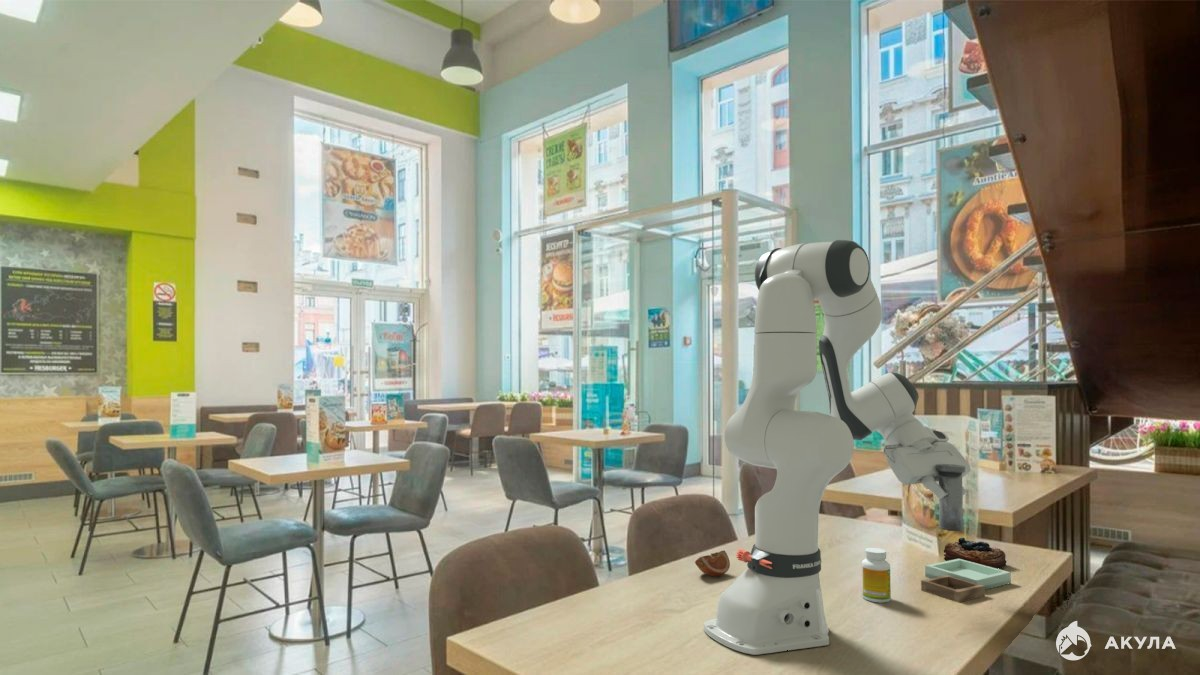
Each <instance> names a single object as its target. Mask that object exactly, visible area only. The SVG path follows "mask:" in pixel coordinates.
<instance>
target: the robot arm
mask: <svg viewBox="0 0 1200 675" xmlns="http://www.w3.org/2000/svg"><path fill="white" fill-rule="evenodd" d="M868 256H869V255H868V254H867V252H866V250H865V249H864V247H862V246H861V245H860V244H859V243H857V242H855V241H853V240H848V239H847V240H845V239H836V240H833V241H821V242H820V241H819V242H803V243H798V244H797V243H796V244H794V245H788V246H786V247H782V248H781V247H777V248H774V249H771V250H768V251H766V252H765V253H763V254H761V256H760V258H759V259H758V261H757V263H756V266H755V267H754V268H755V269H754V280H755V284H756V288H757V289H758V294H757V299H756V304H755V305H756V307H755V314H754V335H753V336H754V340H753V341H754V344H753V345H754V346H753V347H754V349H753V350H754V351H753V355H754V356H753V373H752V378H751V379H752V380H751V382H750V387H749V390H748V392H747V395H746V397H745V399H744V401H743V403H742V404H741V405H740V408H739V409H738V410H737V411H736V412H735V413H734V414H731V416H730V418H729V419H728V420H727V423H726V426H725V429H724V441H725V447H726V449H727V451H728V453H730V455H732V457H735V458H736V459H738V460H740V461H742V462H745V463H747V464H750V465H752V466H757V467H760V468H761V467H763V468H768V469H772V470H773V469H775V470H776V478H775V482H774V485H773V487H772V489H771V490H770V491H767V492H765V493H764V494H762V495H761V496H760V497H759V498H758V500H756V503H755V506H754V544H753V546H752V548H751V551H748V550H745V549H743V548H739V549H737V552H736V558H737V560H738V561H740V562H743V563H747V565H746V566H747V568H745V569H744V571H743V572H742V573H741V574H740V575H739V576H737V578H736V579H735V580H734V581H733V582H732V583H731V584H730V585H729V586H728V587H727V588H726V589H725V590H724V591H723V592H722V593H720V596H719V597H718V598H719V599H718V602H717V608H716V609H717V611H716V617H715V618H711V619H708V620H706V621H704V622H703V630H704V632H705V634H706V635H707V636H709V637H710V638H712V639H713V640H715V641H716V642H717V643H719V644H721V645H722V646H725V647H727V648H730V649H732V650H734V651H737V652H740V653H743V654H747V655H748V654H749V655H753V656H755V655H756V656H757V655H758V656H759V655H763V654H772V653H778V652H779V653H780V652H786V651H787V650H788V651H794V650H800V649H801V650H802V649H808V648H816V647H823V646H824V647H825V646H829V645H830V638H829V632H830V630H829V626H828V623H827V619H826V616H825V608H824V601H823V594H822V593H823V592H822V588H821V580H820V572H821V571H822V556H821V555H822V553H821V552H822V551H821V549H820V548H819V520H820V519H819V518H820V516H819V515H820V507H821V502H822V498H823V495H824V493H825V491H826V489H827V487H828V485H829V483H830V482H831V481H832V480H833V478H835V477H836V476H837V475H838V474H840V473H841V472H842V471H843V470H846V468H847V466H848V465H849V464H850V462H851V460H852V458H853V454H854V446H855V442H854V440H855V441H862V440H864V439H866V438H867V437H868V436H870V435H872V434H873V432H877V433H879V434H880V435H881V437H882V438H883V440H884V443H885V446H884V447H883V452H882V453H883V454H884V456H885V457H886V460H887V464H888V466H889V467H890V469H891V471H892V473H893V474H894V475H895V477H896V478H897V480H898V481H899V482H900V483H902V484H903V485H905V486H908V485H916V484H917V485H918V484H921V485H923V487H924V488H926V489H927V490H929V491H931V492H932V493H933V494H934V495H936V497H937V498H938V500H939V499H942V498H946V497H947V496H948V495H949V493H948V491H946V489H945V488H944V487H941V486H940V485H939V483H938V482H939V471H937V470H936V469H935V465H936V464H953V465H961V466H965V472H964V473H962V479H963V478H964V477H965V476H967V474H968V473H970V471H971V465H970V463H969V462H968V461H967V459H966V458H965V456H964V455H963V454H962V453H961V452H960V450H959V449H958V448H957V447H956V446H955V445H954V444H953V443H951V442H949V440H950V438H949V436H948V435H947V434H946V433H945V432H942V431H941V430H940V431H939V430H936V429H933V428H930V427H929V426H926V425H923V423H922V422H921V421H920V420H919V419H917V418H916V417H915V416H914V413H913V412H915V410H916V409H917V405H918V401H919V391H917V389H916V388H915V387H914V385H913V384H912V382H910V380H909V379H908V378H907V377H906V376H905V375H903V374H901V373H898V372H894V371H893V372H892V371H891V372H888V373H884V374H882V375H881V376H879V377H877V378H875V379H872V380H871V381H869V382H868V383H866V384H864V385H862V386H861V387H859V388H856V389H855V390H853V391H851V387H850V382H849V381H850V380H849V377H848V376H849V375H848V366H849V363H850V362H851V360H852V359H853V357H854V356H855V354H857V352H858V351H859V350H860V349H861V348H862V347H863V346H864V345H865V344H866V343H867V342H868V341H869V340H870V339H871V338H872V337H873V335H875V333H876V332H877V330H878V329H879V327H880V324H881V322H882V318H883V310H882V305H881V301H880V298H879V296H878V294H877V290H876V288H875V286H874V283H873V280H872V279H871V277H870V270H871V267H870V261H869V257H868ZM814 301H818V302H819V306H820V307H821V311H822V313H823V317H824V328H823V333H822V336H821V337H820V339H819V340H818V338H817V336H818V335H817V318H816V317H817V315H816V308H815V302H814ZM817 340H818V343H817ZM817 344H818V345H817ZM817 346H818V347H817ZM817 348H818V351H819V358H820V363H821V368H822V372H823V377H824V381H825V382H824V383H825V386H826V391H827V396H828V401H829V402H828V403H829V414H830V415H829V414H825V413H821V412H818V411H806V410H794V407H795V402H796V399H797V396H798V395H799V393H800V391H801V390H802V389H803V388H805V387H807V386H808V385H810V384H811V383H812V382H813V380H815V377H816V375H817V372H818V370H817V368H818V365H817V364H818V363H817V362H818V360H817V356H818V352H817ZM962 490H963V496H964V495H965V494H967V490H966V489H965V487H964V486H963V485H962Z"/></svg>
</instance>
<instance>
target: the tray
mask: <svg viewBox="0 0 1200 675" xmlns="http://www.w3.org/2000/svg"><path fill="white" fill-rule="evenodd" d="M924 569H925V570H924V571H925V572H924V573H925V575H924V576H925V577H927V578H928V579H930V578H935V577H939V576H944V575H949V576H952V577H956V578H959V579H963V580H966V581H969V582H973V583H976V584H980V585H983V586H984V591H986V590H990V588H991V589H994V587H995V588H997V586H999V587H1002V586H1001V585H1003V586H1005V585H1004V584H1007V585H1009V584H1008V583H1011V584H1012V581H1011V580H1012V577H1011V576H1012V574H1011V572H1010V571H1007V570H1002V569H996V568H992V567H989V566H985V565H981V564H977V563H974V562H970V561H966V560H962V559H954V560H950V561H945V560H944V561H941V562H935V563H931V564H926V565H924Z"/></svg>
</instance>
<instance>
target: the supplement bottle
mask: <svg viewBox="0 0 1200 675" xmlns="http://www.w3.org/2000/svg"><path fill="white" fill-rule="evenodd" d="M864 555H865V558H864V559H863V560H862V561H861V595H862V598H863V599H865V600H866V601H869V602H872V603H880V604H881V603H889V602H890V601H891V565H890V563H889V562H888V561H887V560H886V559H887V551H886V550H885V549H883V548H879V547H878V548H877V547H867V548H865V550H864Z"/></svg>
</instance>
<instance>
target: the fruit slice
mask: <svg viewBox="0 0 1200 675" xmlns="http://www.w3.org/2000/svg"><path fill="white" fill-rule="evenodd" d="M729 558H730V557H729V556H728V553H727V552H726V550H721V551H718V552H717V551H716V552H714V553H710V555H709V554H708V555H702V556H699V558H697V559H696V560H695V561H694V563H695V565H696V567H697V568H698V569H699V570H700V571H701V572H702V573H703V574H705V575H707V576H710V577H721V576H723V575H725V574H726V573H727V572H728V571H729V569H730V566H731V562H730V559H729Z"/></svg>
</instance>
